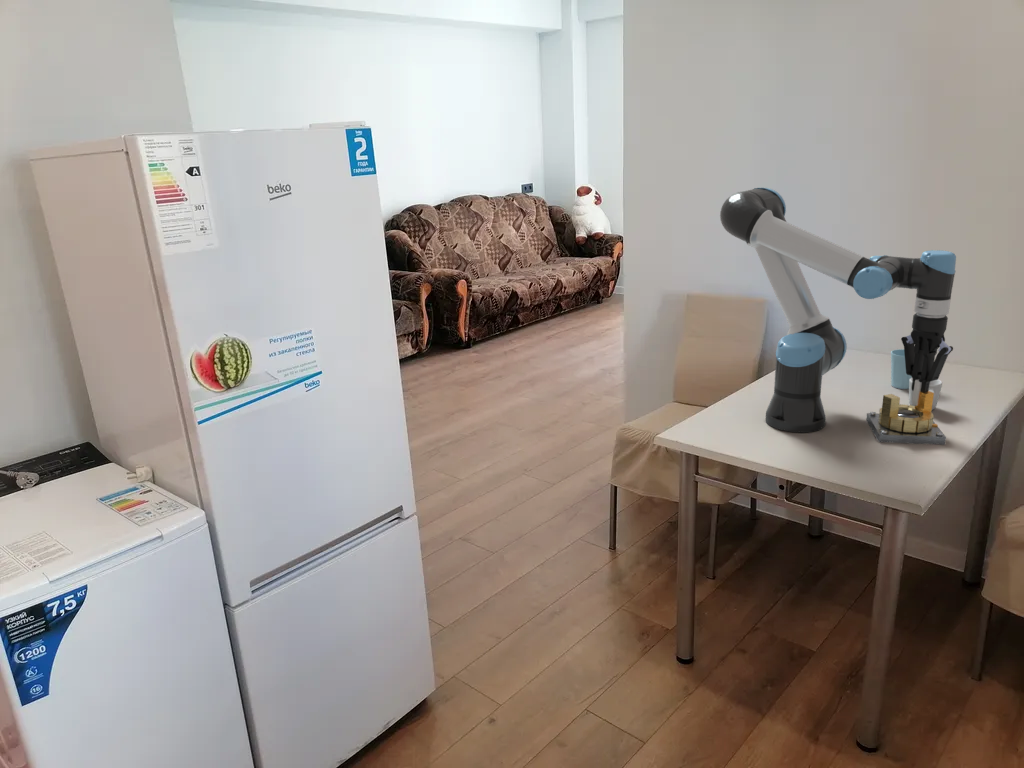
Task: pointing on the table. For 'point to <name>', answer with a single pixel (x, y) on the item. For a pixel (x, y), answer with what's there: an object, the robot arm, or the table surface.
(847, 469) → the table surface
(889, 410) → the ring nut
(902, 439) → the flange
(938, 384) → the cup
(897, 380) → the cup
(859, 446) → the table surface
